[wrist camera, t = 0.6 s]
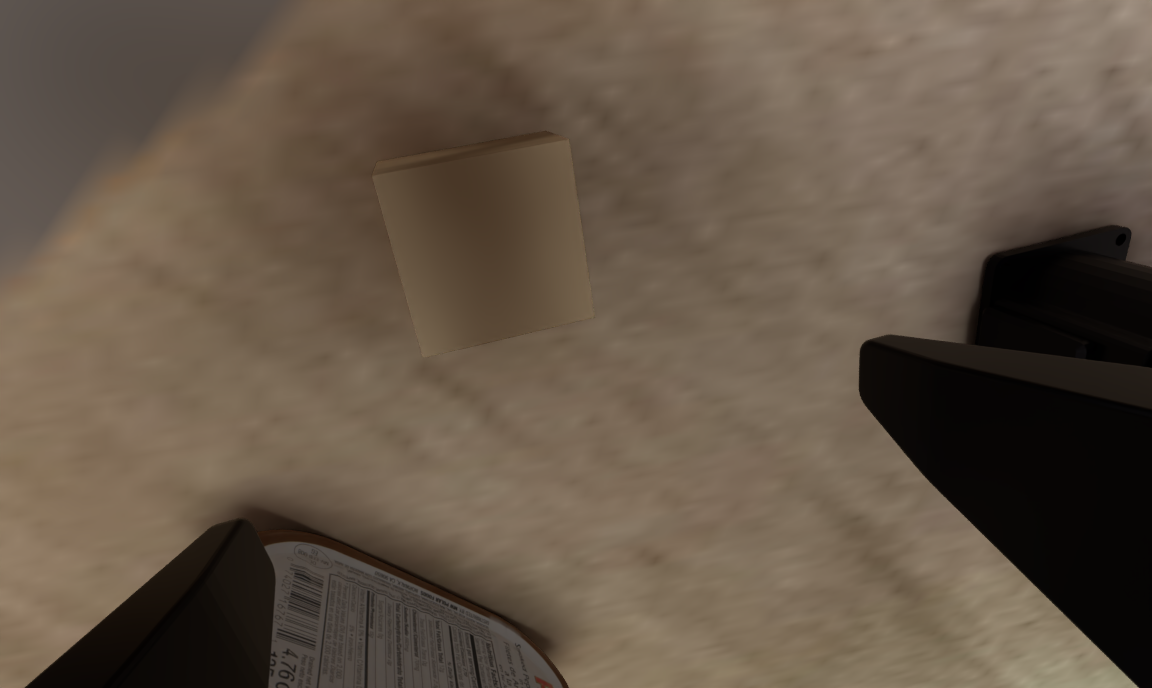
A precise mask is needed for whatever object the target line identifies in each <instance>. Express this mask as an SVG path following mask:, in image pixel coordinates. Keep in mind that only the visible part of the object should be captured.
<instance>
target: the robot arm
mask: <svg viewBox="0 0 1152 688" xmlns="http://www.w3.org/2000/svg"><path fill="white" fill-rule="evenodd" d="M1130 239H1131V231H1130V229H1129V228H1127V227H1122V226H1109V227H1105V228H1101V229H1097V230H1093V231H1089V232H1085V233H1081V234H1077V235H1073V236H1069V237H1065V238H1060V239H1056V240H1052V241H1048V242H1044V243H1040V244H1036V245H1032V246H1028V247H1024V248H1020V249H1016V250H1011V251H1007V252H1003V253H999V254H997V255H994V256H993V257H992V258H991V259H990V260H989V262H988V263H987V266H986V270H985V277H984V284H983V292H982V299H981V306H980V313H979V320H978V328H977V335H976V342H975V345H969V344H961V343H953V342H945V341H938V340H930V339H922V338H914V337H906V336H898V335H884V336H881V337H877V338H874V339H870V340H867V341H865V342H864V343H863V344H862V346H861V348H860V357H859V393H860V396H861V399H862V401H863V403H864V404H865V406H866V407H867V408H868V410H869V411H870V412H871V413H872V414H873V416H874V417H875V418H876V419H877V420H878V422H879V423H880V424H881V425H882V426H883V428H884V429H885V430H886V431H887V432H888V434H889V435H890V436H891V437H892V438H893V440H894V441H895V442H896V443H897V444H898V446H899V447H900V448H901V449H902V450H903V452H904V453H905V454H906V455H907V456H908V458H909V459H910V460H911V461H912V462H913V464H914V465H915V466H916V467H917V468H918V469H919V471H920V472H921V473H922V474H923V475H924V476H925V477H926V478H927V479H928V480H929V482H930V483H931V484H932V485H933V486H934V487H935V488H936V489H937V490H938V491H939V492H940V493H941V494H942V495H943V496H944V497H945V498H946V499H947V500H948V501H949V502H950V503H951V504H952V505H953V506H954V507H956V508H957V509H958V510H959V511H960V512H961V513H962V514H963V515H964V516H965V517H966V518H967V519H968V520H969V521H970V522H971V523H972V524H973V525H974V526H975V527H976V528H977V529H978V530H979V531H980V532H981V533H982V534H983V535H984V536H985V537H986V538H987V539H988V540H989V541H990V542H991V543H992V544H993V545H994V546H995V547H996V548H997V549H998V550H999V551H1000V552H1001V553H1002V554H1003V555H1004V556H1005V557H1006V558H1007V559H1008V560H1009V561H1010V562H1011V563H1012V564H1013V565H1014V566H1015V567H1017V568H1018V569H1019V570H1020V571H1021V572H1022V573H1023V574H1024V575H1025V576H1026V577H1027V578H1028V579H1029V580H1030V581H1031V582H1032V583H1033V584H1034V585H1035V586H1036V587H1037V588H1038V589H1039V590H1040V591H1041V592H1042V593H1043V594H1044V595H1045V596H1046V597H1047V598H1048V599H1049V600H1050V601H1051V602H1052V603H1053V604H1054V605H1055V606H1056V607H1057V608H1058V609H1059V610H1060V611H1061V612H1062V613H1063V614H1064V615H1065V616H1066V617H1067V618H1068V619H1069V620H1070V621H1071V622H1072V623H1073V624H1074V625H1075V626H1076V627H1078V628H1079V629H1080V630H1081V631H1082V632H1083V633H1084V634H1085V635H1086V636H1087V637H1088V638H1089V639H1090V640H1091V641H1092V642H1093V643H1094V644H1095V645H1096V646H1097V647H1098V648H1099V649H1100V650H1101V651H1102V652H1103V653H1104V654H1105V655H1106V656H1107V657H1108V658H1109V659H1110V660H1111V661H1112V662H1113V663H1114V664H1115V665H1116V666H1117V667H1118V668H1119V669H1120V670H1121V671H1122V672H1123V673H1124V674H1125V675H1126V676H1127V677H1128V678H1129V679H1130V680H1131V681H1132V682H1133V683H1134V684H1135V685H1136V686H1137V687H1139V688H1152V267H1148V266H1144V265H1140V264H1136V263H1132V262H1128V261H1125V260H1126V256H1127V252H1128V248H1129V243H1130ZM1000 267H1001V268H1000ZM275 586H276V576H275V570H274V566H273V563H272V561H271V559H270V557H269V555H268V553H267V551H266V549H265V547H264V545H263V543H262V541H261V539H260V537H259V536H258V534H257V532H256V530H255V528H254V526H253V524H252V523H251V522H250V521H249V520H248V519H245V518H238V519H235V520H231V521H228V522H224V523H221V524H217V525H214V526H212V527H211V528H209V529H208V530H207V531H206V532H205V533H203V534H202V535H201V536H200V537H199V538H198V539H196V540H195V541H194V542H193V543H192V544H191V545H189V546H188V547H187V548H186V549H185V550H184V551H182V552H181V553H180V554H179V555H178V556H177V557H175V558H174V559H173V560H172V561H171V562H170V563H169V564H167V565H166V566H165V567H164V568H163V569H162V570H160V571H159V572H158V573H157V574H156V575H155V576H153V577H152V578H151V579H150V580H149V581H148V582H146V583H145V584H144V585H143V586H142V587H141V588H140V589H138V590H137V591H136V592H135V593H134V594H133V595H131V596H130V597H129V598H128V599H127V600H126V601H124V602H123V603H122V604H121V605H120V606H119V607H117V608H116V609H115V610H114V611H113V612H112V613H111V614H109V615H108V616H107V617H106V618H105V619H104V620H102V621H101V622H100V623H99V624H98V625H97V626H95V627H94V628H93V629H92V630H91V631H90V632H88V633H87V634H86V635H85V636H84V637H83V638H81V639H80V640H79V641H78V642H77V643H76V644H75V645H73V646H72V647H71V648H70V649H69V650H68V651H66V652H65V653H64V654H63V655H62V656H61V657H59V658H58V659H57V660H56V661H55V662H54V663H52V664H51V665H50V666H49V667H48V668H47V669H46V670H44V671H43V672H42V673H41V674H40V675H39V676H37V677H36V678H35V679H34V680H33V681H32V682H30V683H29V684H28V685H27V686H26V687H25V688H268V686H269V676H270V662H271V647H272V632H273V617H274V601H275Z"/></svg>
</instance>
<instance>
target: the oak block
mask: <svg viewBox="0 0 1152 688" xmlns="http://www.w3.org/2000/svg"><path fill="white" fill-rule="evenodd" d="M372 179H373V182H374V186H375V190H376V193H377V197H378V200H379V204H380V207H381V211H382V215H383V218H384V222H385V225H386V229H387V232H388V236H389V239H390V243H391V247H392V250H393V254H394V257H395V261H396V264H397V268H398V272H399V275H400V279H401V282H402V286H403V289H404V293H405V296H406V300H407V304H408V307H409V311H410V314H411V318H412V321H413V325H414V329H415V332H416V336H417V339H418V343H419V346H420V350H421V353H422V357H423V358H426V357H430V356H434V355H438V354H443V353H447V352H451V351H455V350H460V349H464V348H468V347H472V346H476V345H481V344H485V343H489V342H493V341H498V340H502V339H506V338H510V337H515V336H519V335H523V334H527V333H532V332H536V331H540V330H544V329H549V328H553V327H557V326H561V325H565V324H570V323H574V322H578V321H582V320H587V319H591V318H595V314H594V307H593V300H592V294H591V287H590V280H589V273H588V266H587V259H586V252H585V245H584V238H583V231H582V224H581V217H580V210H579V204H578V197H577V190H576V183H575V176H574V169H573V162H572V155H571V148H570V141H569V139H567V138H564V137H561V136H559V135H556V134H553V133H550V132H547V131H543V132H537V133H532V134H526V135H521V136H515V137H510V138H504V139H499V140H493V141H488V142H482V143H477V144H471V145H466V146H460V147H455V148H449V149H444V150H438V151H432V152H427V153H421V154H416V155H410V156H405V157H399V158H394V159H388V160H383V161H377V163H376V165H375V168H374V171H373V174H372Z"/></svg>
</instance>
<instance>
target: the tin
mask: <svg viewBox="0 0 1152 688" xmlns="http://www.w3.org/2000/svg"><path fill="white" fill-rule="evenodd" d="M257 534H258V536H259V537H260V539H261V541H262V543H263V545H264V547H265V549H266V551H267V553H268V555H269V557H270V559H271V561H272V563H273V566H274V570H275V576H276V586H275V601H274V617H273V632H272V647H271V662H270V676H269V686H268V688H569V687H568V685H567V683H566V681H565V679H564V678H563V676H562V675H561V674H560V672H559V671H558V669H557V668H556V667H555V665H554V664H553V663H552V662H551V661H550V659H549V658H548V657H547V656H546V655H545V654H544V653H543V652H542V651H541V650H540V649H539V648H538V647H537V646H536V645H535V644H534V643H533V642H532V641H531V640H530V639H529V638H528V637H527V636H526V635H525V634H523V633H522V632H521V631H520V630H518V629H517V628H516V627H514V626H513V625H511V624H510V623H508V622H507V621H505V620H504V619H502V618H500V617H498V616H497V615H495V614H493V613H491V612H489V611H486V610H484V609H482V608H480V607H478V606H476V605H474V604H471V603H469V602H467V601H465V600H463V599H461V598H459V597H456V596H454V595H452V594H450V593H448V592H445V591H443V590H441V589H439V588H437V587H435V586H433V585H431V584H429V583H426V582H424V581H422V580H420V579H418V578H415V577H413V576H411V575H409V574H407V573H405V572H402V571H400V570H398V569H396V568H394V567H391V566H389V565H387V564H385V563H383V562H381V561H378V560H376V559H374V558H372V557H370V556H368V555H365V554H363V553H361V552H359V551H357V550H354V549H352V548H350V547H348V546H346V545H344V544H341V543H339V542H336V541H334V540H331V539H328V538H326V537H323V536H320V535H316V534H312V533H307V532H301V531H294V530H282V529H278V530H267V531H260V532H257Z"/></svg>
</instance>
